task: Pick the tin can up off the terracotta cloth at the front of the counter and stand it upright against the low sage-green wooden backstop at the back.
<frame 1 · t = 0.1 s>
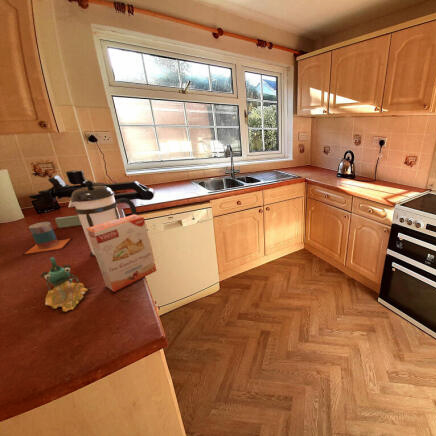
hand: (34, 194, 122), 17 cm above the countertop, tool horizontal, fingers open, 9 cm apart
frog figurine: (68, 296, 75), on the countertop
cloth: (49, 246, 106), on the countertop
backstop: (73, 225, 127), on the countertop
can: (48, 245, 105), resting on cloth
coffee press: (115, 252, 100), on the countertop
cracker box: (133, 279, 82), on the countertop
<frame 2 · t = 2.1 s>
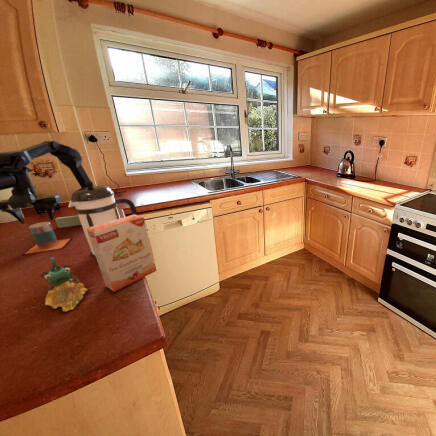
hand: (38, 221, 101), 12 cm above the countertop, tool pointing down, fingers open, 9 cm apart
nothing on the countertop moved.
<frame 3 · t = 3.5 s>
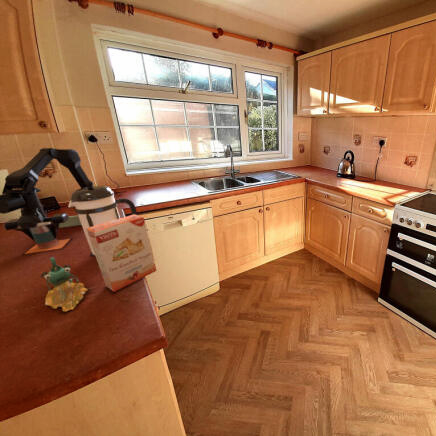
hand: (45, 239, 104), 3 cm above the countertop, tool pointing down, fingers closed on can, 6 cm apart
can: (48, 245, 105), resting on cloth, touching gripper
everything else where it was.
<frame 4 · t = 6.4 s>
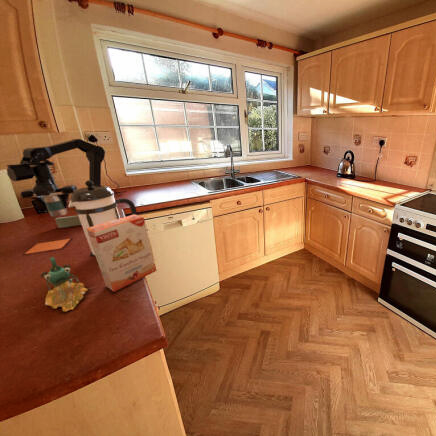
hand: (57, 208, 117), 12 cm above the countertop, tool pointing down, fingers closed on can, 6 cm apart
can: (59, 214, 118), point 9 cm above the countertop, touching gripper
everything else where it was.
when the fingers open (3 cm above the countertop, at t = 9.3 s): can stays where it is, on the countertop.
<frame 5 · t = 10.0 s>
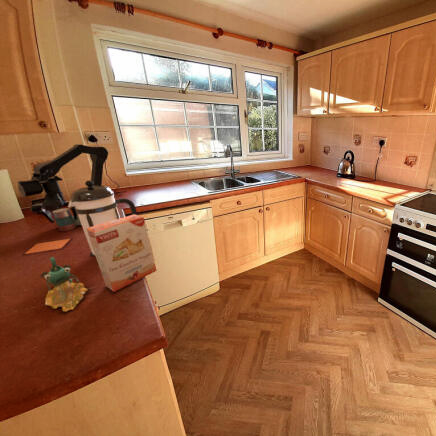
hand: (64, 221, 122), 4 cm above the countertop, tool pointing down, fingers open, 9 cm apart
can: (68, 228, 123), on the countertop
everything else where it was.
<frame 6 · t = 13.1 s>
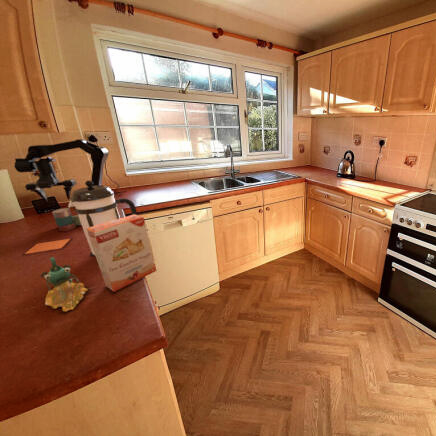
hand: (58, 200, 128), 12 cm above the countertop, tool pointing down, fingers open, 9 cm apart
nothing on the countertop moved.
at the end: can inside the target area on the countertop beside the backstop (0.7 cm from its centre), on the countertop; can tilted 0°; the gripper is holding nothing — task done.
